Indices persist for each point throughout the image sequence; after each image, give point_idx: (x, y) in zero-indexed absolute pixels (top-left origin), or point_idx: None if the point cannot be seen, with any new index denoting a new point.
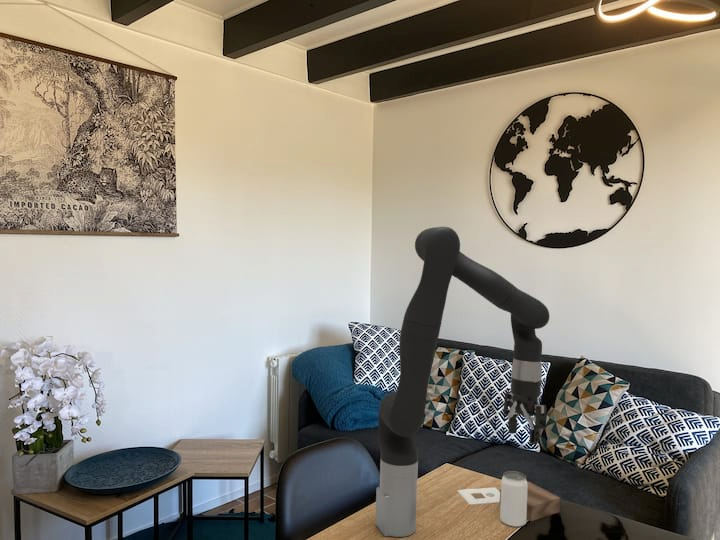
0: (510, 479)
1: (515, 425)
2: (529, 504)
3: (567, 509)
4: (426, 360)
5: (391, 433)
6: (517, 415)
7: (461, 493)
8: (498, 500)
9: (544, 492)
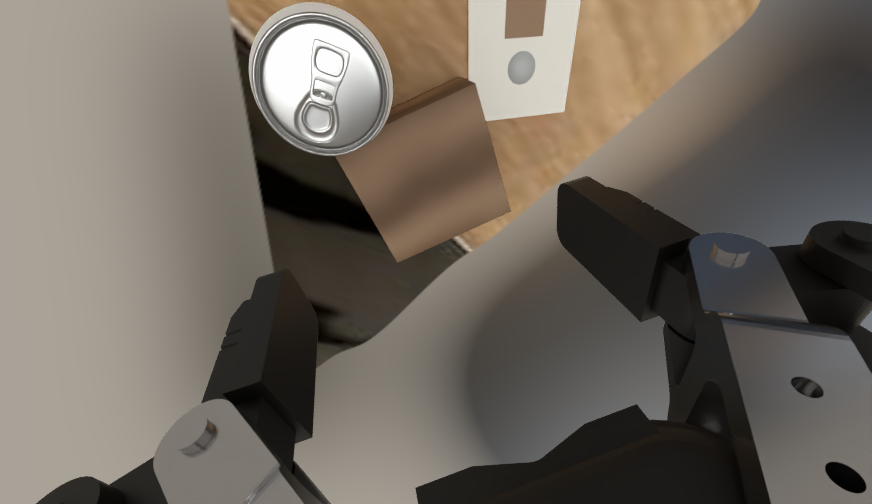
0: (266, 35)
1: (599, 266)
2: None
3: (406, 263)
4: None
5: None
6: (673, 362)
7: None
8: (478, 81)
9: (433, 231)
